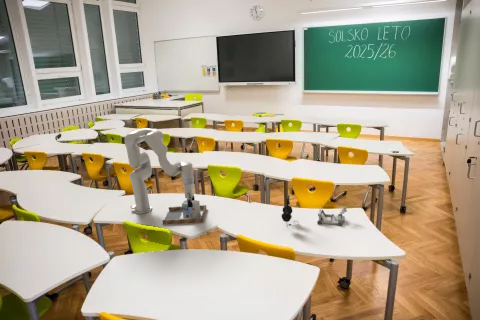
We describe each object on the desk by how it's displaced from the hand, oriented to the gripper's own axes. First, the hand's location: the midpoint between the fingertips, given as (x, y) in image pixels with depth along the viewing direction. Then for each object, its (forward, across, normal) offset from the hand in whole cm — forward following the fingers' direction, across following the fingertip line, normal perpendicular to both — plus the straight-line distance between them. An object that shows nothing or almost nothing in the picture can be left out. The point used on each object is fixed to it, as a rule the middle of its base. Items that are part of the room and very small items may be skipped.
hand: (191, 204), depth 231 cm
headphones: (+11, +21, +65) cm, 69 cm away
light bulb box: (+9, 0, -1) cm, 9 cm away
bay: (+9, 0, -6) cm, 11 cm away
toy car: (+12, +18, +91) cm, 94 cm away
